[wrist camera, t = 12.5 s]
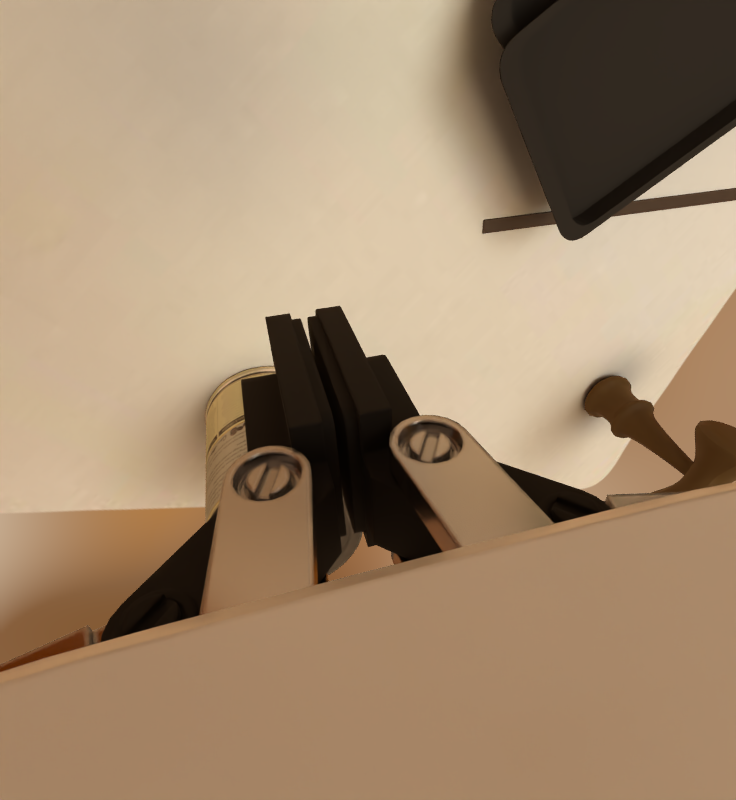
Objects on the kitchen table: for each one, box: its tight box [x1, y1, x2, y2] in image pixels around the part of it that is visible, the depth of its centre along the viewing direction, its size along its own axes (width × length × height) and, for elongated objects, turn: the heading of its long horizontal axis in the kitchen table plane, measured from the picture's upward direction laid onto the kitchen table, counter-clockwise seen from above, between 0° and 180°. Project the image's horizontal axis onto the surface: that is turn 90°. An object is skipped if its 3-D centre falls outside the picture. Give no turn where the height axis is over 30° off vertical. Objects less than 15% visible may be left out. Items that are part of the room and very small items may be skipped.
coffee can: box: [205, 367, 362, 575], centre depth 37 cm, size 10×10×14 cm
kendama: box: [585, 376, 736, 493], centre depth 44 cm, size 6×10×20 cm, turn 164°
